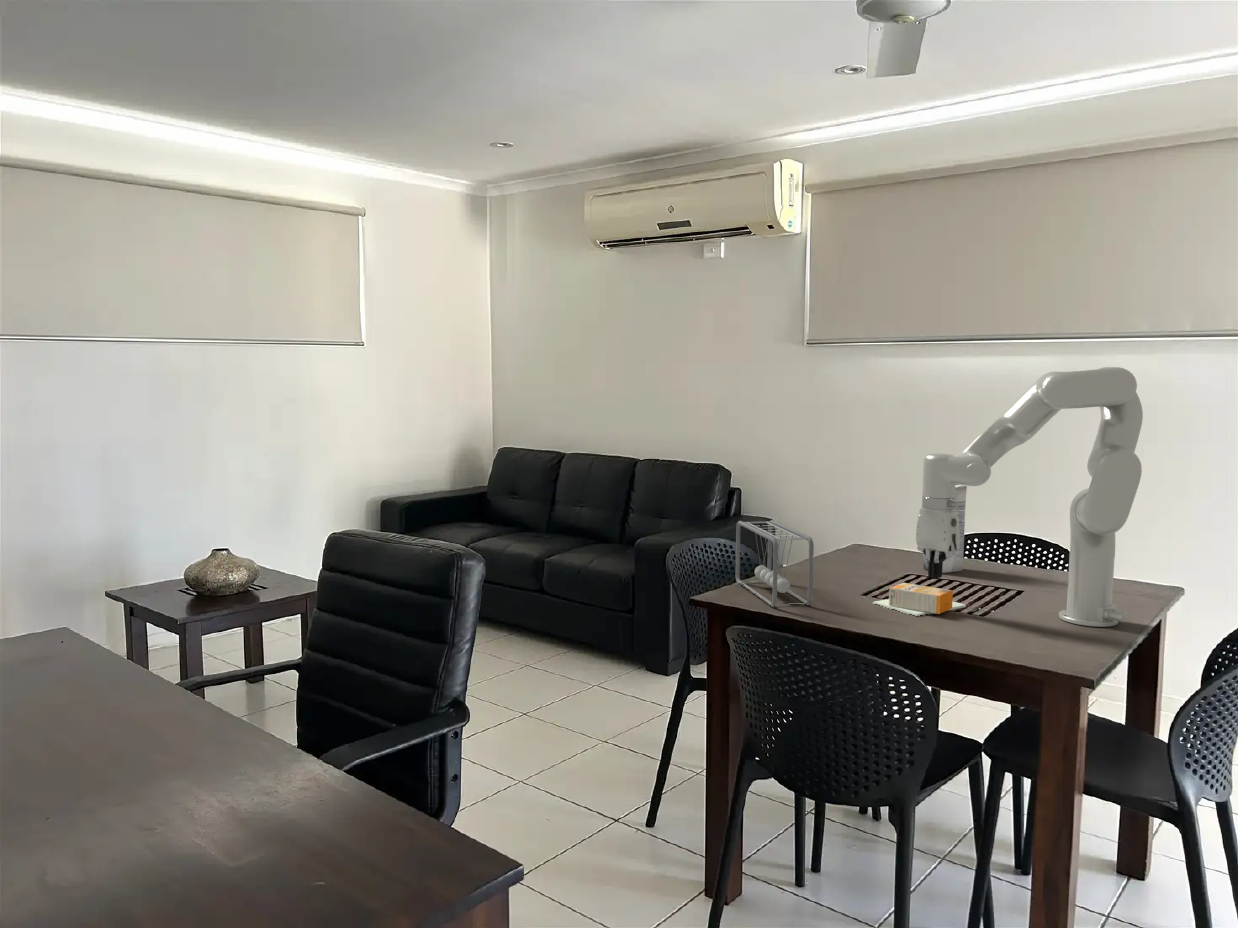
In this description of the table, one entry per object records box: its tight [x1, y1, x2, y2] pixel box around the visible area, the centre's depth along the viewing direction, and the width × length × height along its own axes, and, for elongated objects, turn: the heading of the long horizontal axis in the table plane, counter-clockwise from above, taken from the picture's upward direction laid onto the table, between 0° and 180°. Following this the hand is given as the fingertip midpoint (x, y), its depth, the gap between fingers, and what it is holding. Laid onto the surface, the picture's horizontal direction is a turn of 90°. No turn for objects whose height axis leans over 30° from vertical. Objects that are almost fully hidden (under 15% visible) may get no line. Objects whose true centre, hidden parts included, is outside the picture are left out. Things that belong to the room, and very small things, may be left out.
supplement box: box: [888, 582, 954, 615], centre depth 229 cm, size 8×5×13 cm
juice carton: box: [922, 484, 968, 574], centre depth 274 cm, size 9×10×27 cm
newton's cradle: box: [735, 519, 815, 607], centre depth 244 cm, size 30×10×18 cm, turn 11°
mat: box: [872, 598, 967, 617], centre depth 234 cm, size 14×18×1 cm
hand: (934, 577), depth 229 cm, fingers closed
